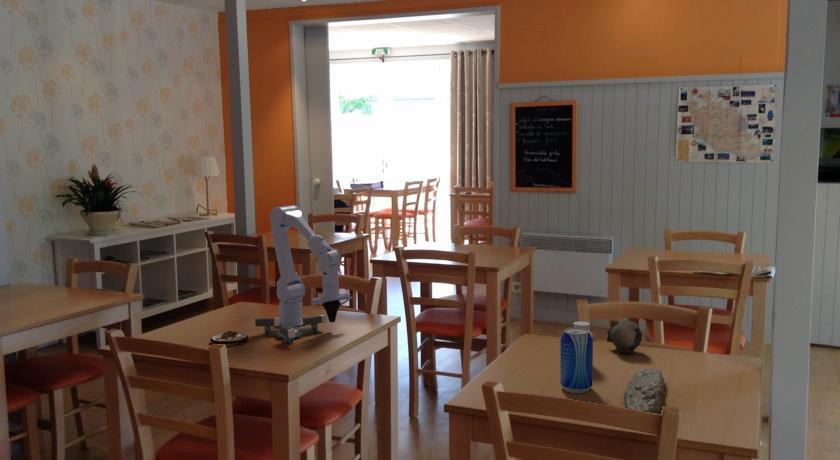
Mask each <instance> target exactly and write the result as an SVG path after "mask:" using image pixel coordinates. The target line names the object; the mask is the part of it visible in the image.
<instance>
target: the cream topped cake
mask: <svg viewBox="0 0 840 460" xmlns="http://www.w3.org/2000/svg"><path fill="white" fill-rule="evenodd" d="M249 339H250V337H249V335H248V334H247V333H246V332H242V331H239V332H237V331H235V330H228V331H226V332H225V331H224V332H221V333H217V334H215V335H213V336H211V337H210V342H211V344H212V343H213V344H225V345H226V346H227V348H229V347H235V346H236V347H237V346H240V345H243V343H244V344H248V343H249ZM213 344H212V345H213Z"/></svg>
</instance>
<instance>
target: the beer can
mask: <svg viewBox="0 0 840 460" xmlns="http://www.w3.org/2000/svg"><path fill="white" fill-rule="evenodd" d="M589 331H590V329H589V330H587V329H584V328H574V327H568V328H565V329H563V334H562V335H561V337H560V342H559V343H560V344H559V345H560V355H559V356H560V364H559V365H560V367H559V368H560V371H559V372H560V375H559V376H560V386H561V387H562V389H563V390H564V391H566V392H568V393H570V394H571V393H572V394H584V393H588V392H589V391H590V389H591V388H592V387H593V383H594V381H593V379H594V378H593V376H594V374H593V369H594V367H593V366H594V365H593V364H594V363H593V362H594V361H593V358H594V338H593V339H592V337H591V336H590V334H589Z"/></svg>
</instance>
